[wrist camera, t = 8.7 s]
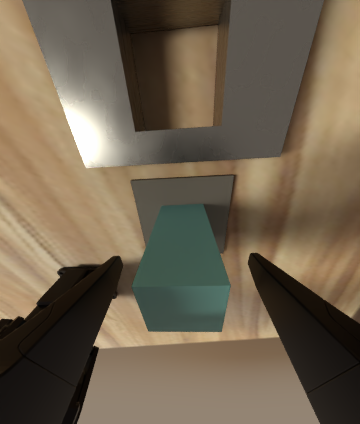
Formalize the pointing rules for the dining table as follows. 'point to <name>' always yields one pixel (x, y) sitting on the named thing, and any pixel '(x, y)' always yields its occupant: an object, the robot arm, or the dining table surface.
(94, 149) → the gray rectangular frame
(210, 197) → the dark gray square pad
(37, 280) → the dining table surface
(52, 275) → the dining table surface
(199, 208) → the teal square block
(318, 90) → the dining table surface
